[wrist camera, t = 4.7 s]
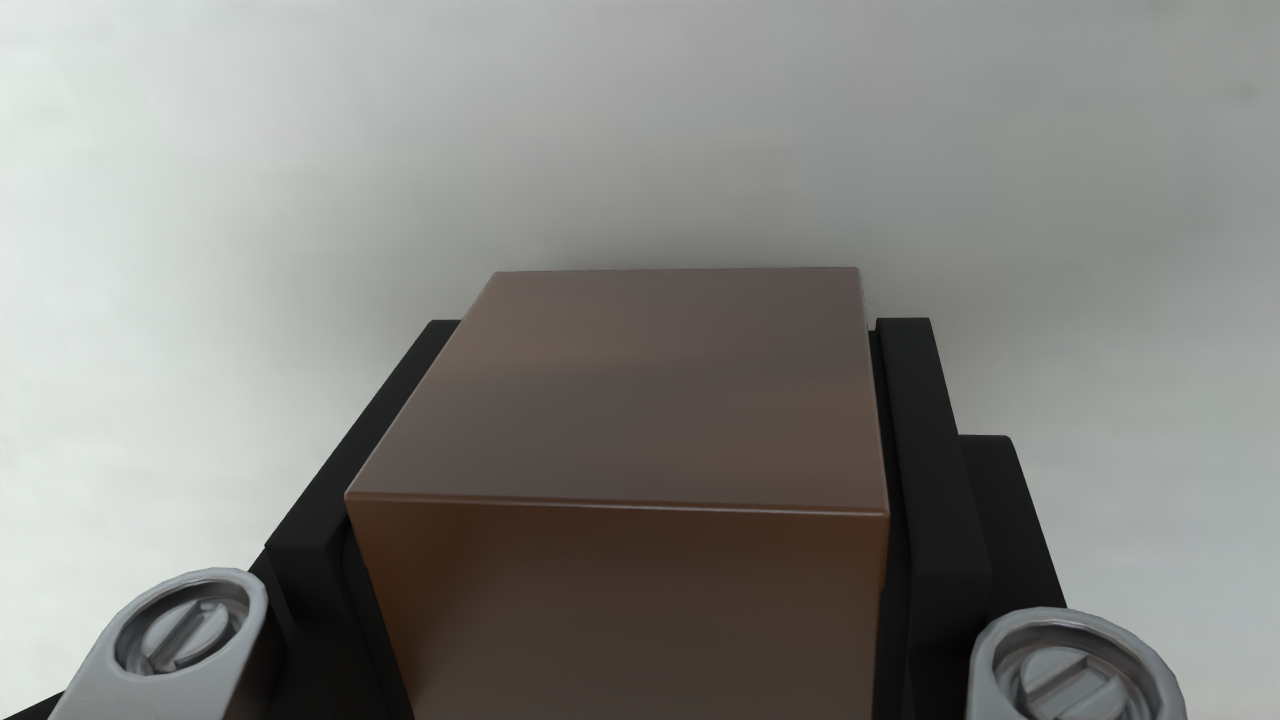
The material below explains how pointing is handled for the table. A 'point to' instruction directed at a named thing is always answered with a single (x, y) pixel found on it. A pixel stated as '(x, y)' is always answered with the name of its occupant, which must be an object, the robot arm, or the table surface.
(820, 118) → the table surface
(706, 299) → the block
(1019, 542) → the robot arm
